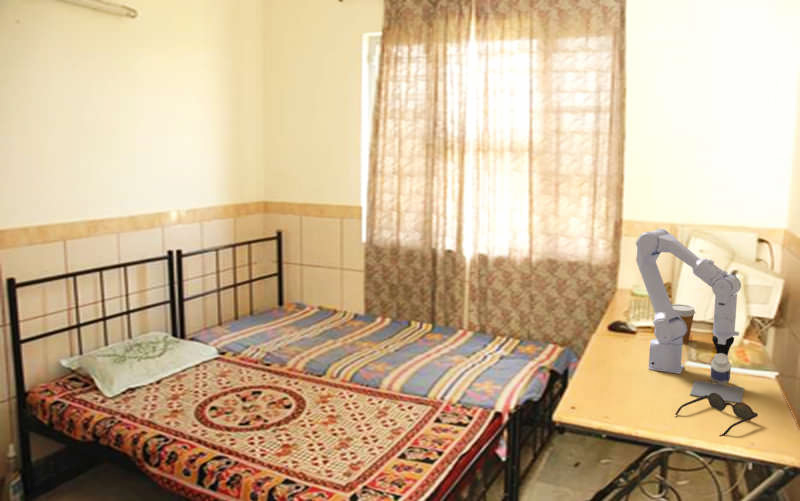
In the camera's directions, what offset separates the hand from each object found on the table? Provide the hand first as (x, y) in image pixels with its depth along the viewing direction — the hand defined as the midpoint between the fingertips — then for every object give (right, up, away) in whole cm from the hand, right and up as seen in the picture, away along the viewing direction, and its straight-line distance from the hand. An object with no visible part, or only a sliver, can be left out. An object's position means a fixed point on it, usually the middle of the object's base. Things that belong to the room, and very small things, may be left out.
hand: (721, 361), depth 196 cm
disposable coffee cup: (+4, +1, +41) cm, 41 cm away
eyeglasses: (-14, -12, -24) cm, 30 cm away
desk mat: (-4, -8, -6) cm, 11 cm away
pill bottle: (0, -5, +1) cm, 5 cm away
